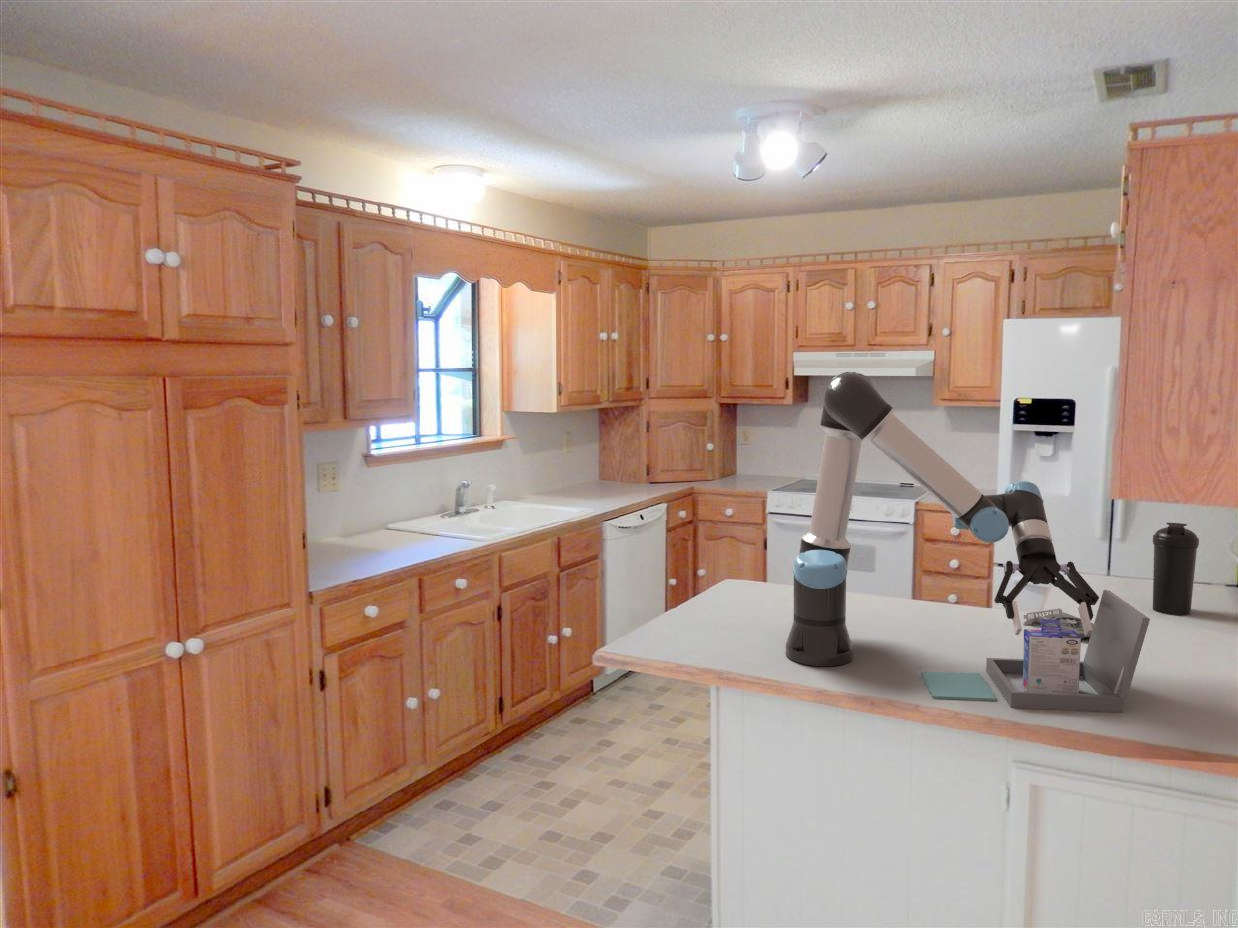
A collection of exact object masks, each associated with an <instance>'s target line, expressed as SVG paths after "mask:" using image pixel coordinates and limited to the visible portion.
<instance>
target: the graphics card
mask: <svg viewBox="0 0 1238 928" xmlns="http://www.w3.org/2000/svg"><path fill="white" fill-rule="evenodd" d="M1050 613H1051V614H1050ZM1043 614H1044V616H1043ZM1023 619H1024V620H1025V621H1023V626H1028V625H1027V624H1030V625H1032V624H1037V626H1041V619H1051V620H1060V625H1061V630H1073V631H1075V632H1076V633H1077V634H1078V635H1079V636H1080V637H1081V639H1084V638H1086V637H1085V635H1084V630H1083V626H1082V622H1081V618H1080V617H1077V616H1075V615H1073V614H1069V613H1067V612H1063V609H1062V608H1055V609H1048V610H1039V611H1033V612H1032V611H1031V612H1026V613H1025V614H1024V615H1023ZM1044 626H1046V627H1057V624H1054V623H1046V624H1044ZM1091 626H1092V629H1093V626H1094V622H1093V623H1092V622H1091ZM1090 636H1091V634H1090ZM1090 636H1089V637H1088V638H1090Z"/></svg>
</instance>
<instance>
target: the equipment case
mask: <svg viewBox="0 0 1238 928" xmlns="http://www.w3.org/2000/svg"><path fill="white" fill-rule="evenodd" d="M1150 620H1151V618H1149V617H1148V616H1146V614H1144V613H1142V612H1141V611H1139V610H1138V609H1136V608H1135V607H1134V606H1133V605H1131V604H1129V603H1128V602H1127V601H1125V600H1124V599H1122V598H1121V597H1119V596H1118V595H1117V594H1115V593H1114V592H1113V591H1111V590H1108V589H1103V591H1102V595H1101V598H1100V601H1099V605H1098V609H1097V612H1096V615H1095V620H1094V622H1093V624H1094V626H1093V629H1092V630H1093V631H1092V633H1091V636H1090V637H1089V641H1088V643H1087V647H1086V651H1085V654H1084V657H1083V661H1081V660H1080V670H1079V678H1080V677H1081V678H1082V679H1084V680H1085V681H1086V683H1087V684H1089V686H1091V688H1092V689H1094V691H1095V692H1096V693H1097V694H1091V693H1090V694H1089V693H1079V694H1073V693H1050V692H1027V691H1025V690H1024V691H1023V690H1015V688H1014V687H1013V685H1012V684H1011V683H1010V681H1009V680H1008V679H1007V678H1006V676H1005V675H1006V674H1007V675H1023V660H1024V658H1003V657H1002V658H1001V657H1000V658H998V657H986V666H985V673H986V674H987V675H988V676H989V677H990V679H991V680H992V682H993V684H994V685H995V686H996V688H997V689H998V691H999V693H1000V694H1001V695H1002V697H1003V699H1005V701H1006V703H1007V704H1008V706H1009V707H1010V708H1013V709H1014V708H1015V709H1031V710H1032V709H1033V710H1056V711H1058V710H1059V711H1076V712H1077V711H1080V712H1101V713H1118V714H1119V713H1123V706H1124V705H1123V704H1124V699H1127V697H1128V694H1129V691H1130V689H1131V685H1132V681H1133V678H1134V674H1135V672H1136V667H1137V666H1138V662H1139V659H1140V654H1141V651H1142V649H1143V644H1144V641H1145V637H1146V635H1147V631H1148V629H1149V624H1150ZM1004 674H1005V675H1004Z"/></svg>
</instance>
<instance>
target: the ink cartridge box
mask: <svg viewBox="0 0 1238 928" xmlns="http://www.w3.org/2000/svg"><path fill="white" fill-rule="evenodd" d="M1046 623H1054V624H1057V627H1046V626H1044V624H1046ZM1040 625H1041V627H1040V629H1032V628H1031V629H1030V628H1029V629H1027V628H1026V629H1025V628H1024V629H1023V659H1024V660H1023V674H1022V688H1023V690H1024V691H1027V692H1050V693H1073V694H1080V693H1079V691H1080V688H1079V687H1080V677H1079V670H1080V661H1081V644H1082V643H1081V642H1082V638H1081V637H1080V636H1079V635H1078V634H1077V633H1076V632H1075V631H1073V630H1061V625H1060V620H1051V619H1041V624H1040Z"/></svg>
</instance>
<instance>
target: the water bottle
mask: <svg viewBox="0 0 1238 928" xmlns="http://www.w3.org/2000/svg"><path fill="white" fill-rule="evenodd" d="M1165 523H1166V525H1168V526H1167V527H1162V528H1159V529H1158V530H1156V532H1155V533H1154V534H1153V535H1152V544H1153V577H1152V581H1153V582H1152V611H1154V612H1157V613H1160V614H1162V615H1163V614H1164V615H1169V616H1188V615H1190V614H1191V611H1192V599H1193V591H1194V583H1195V569H1196V561H1197V553H1198V551H1197V549H1198V548H1199V545H1200V538H1199V537H1198V536H1197V534H1196V533H1195V532H1194V531H1192V530H1190V529H1188V528H1185V527H1187V525H1188V524H1187V523H1183V522H1182V523H1180V522H1165Z"/></svg>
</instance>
